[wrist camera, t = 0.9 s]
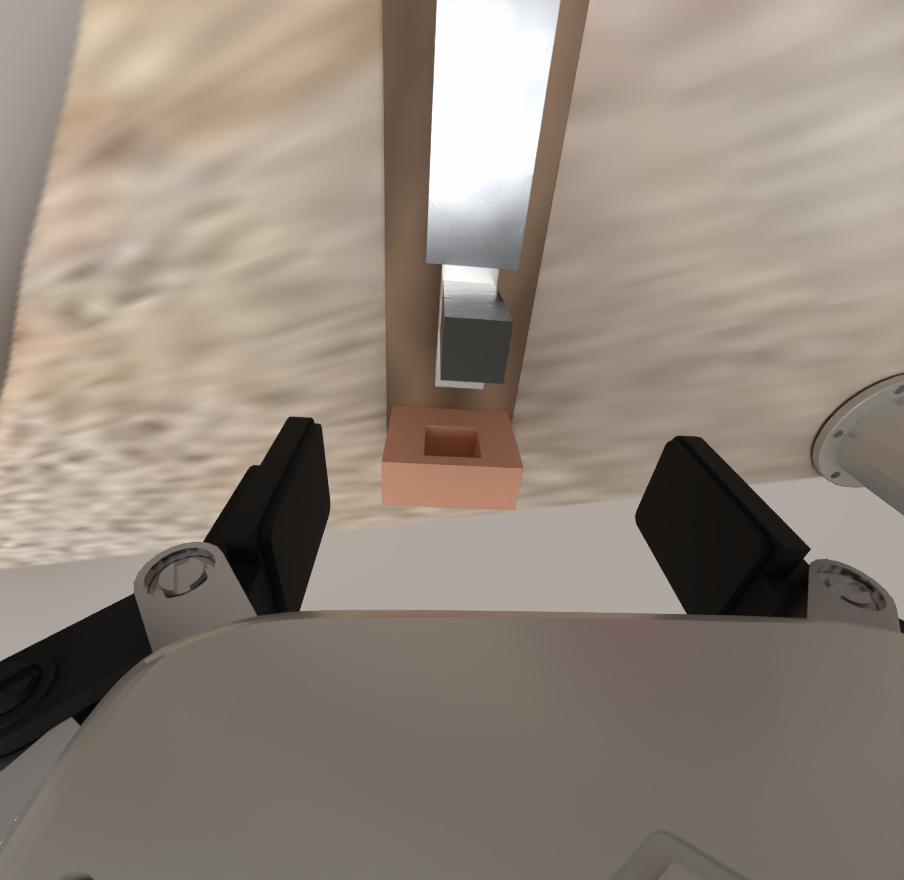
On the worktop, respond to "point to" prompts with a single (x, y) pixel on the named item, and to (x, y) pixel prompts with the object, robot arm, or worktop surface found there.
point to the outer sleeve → (486, 126)
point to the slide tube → (471, 328)
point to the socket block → (450, 459)
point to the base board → (408, 202)
